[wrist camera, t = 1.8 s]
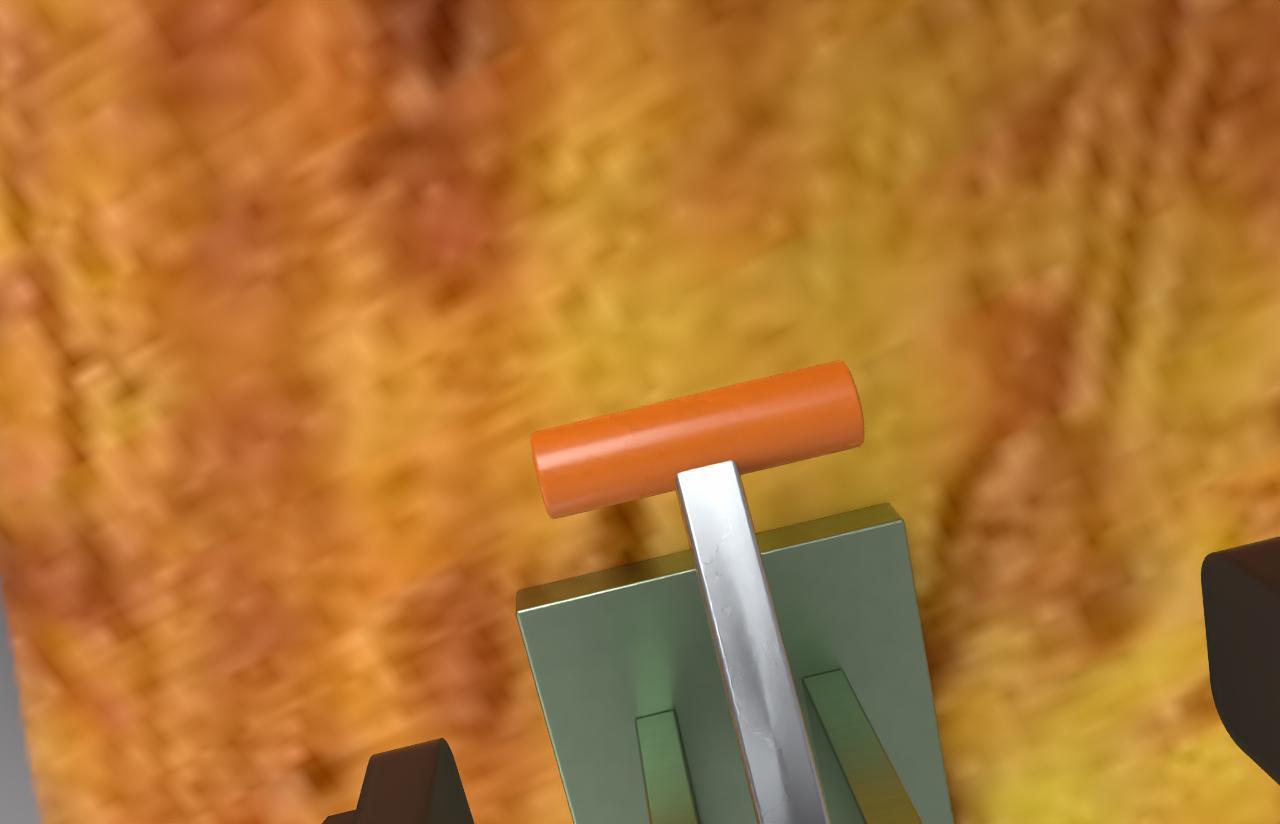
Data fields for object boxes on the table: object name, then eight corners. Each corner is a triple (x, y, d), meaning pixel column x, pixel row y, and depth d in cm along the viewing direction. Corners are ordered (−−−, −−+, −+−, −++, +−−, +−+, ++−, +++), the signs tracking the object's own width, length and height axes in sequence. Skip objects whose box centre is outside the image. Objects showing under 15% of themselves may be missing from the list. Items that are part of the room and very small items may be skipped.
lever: (540, 447, 21) (522, 418, 19) (831, 379, 21) (849, 341, 19) (718, 1272, 18) (723, 1358, 16) (1061, 1186, 18) (1117, 1260, 16)
